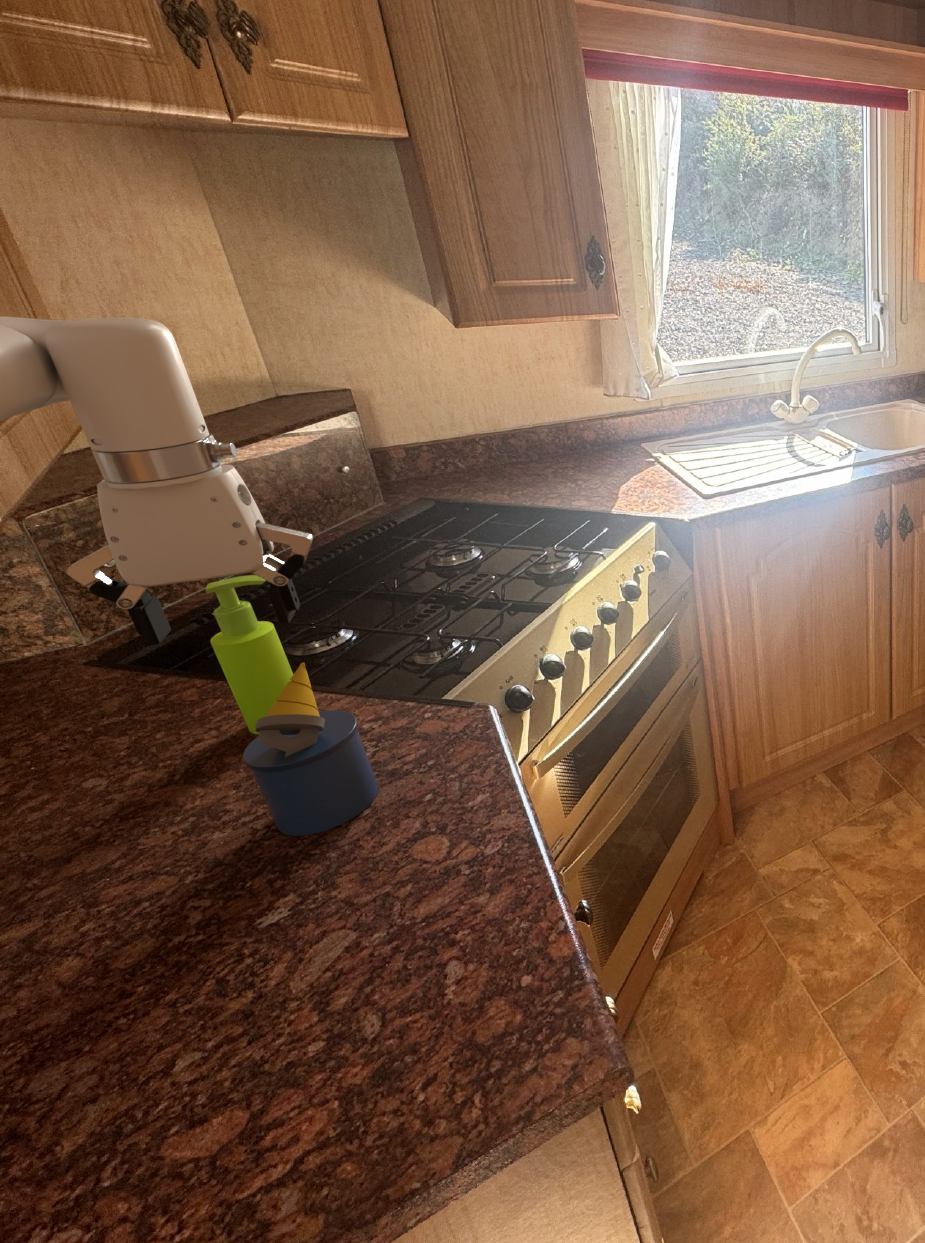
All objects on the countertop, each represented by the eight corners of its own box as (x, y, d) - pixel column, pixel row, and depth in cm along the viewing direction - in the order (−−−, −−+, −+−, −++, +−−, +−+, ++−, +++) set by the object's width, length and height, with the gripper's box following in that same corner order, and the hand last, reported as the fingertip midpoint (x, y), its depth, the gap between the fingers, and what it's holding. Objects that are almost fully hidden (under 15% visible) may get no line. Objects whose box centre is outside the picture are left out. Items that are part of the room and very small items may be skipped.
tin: (263, 850, 76) (230, 778, 72) (285, 793, 83) (256, 725, 80) (374, 817, 80) (348, 748, 76) (385, 766, 87) (362, 701, 84)
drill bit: (246, 763, 75) (266, 667, 79) (314, 761, 78) (330, 670, 82) (252, 752, 71) (272, 653, 75) (322, 751, 75) (339, 656, 79)
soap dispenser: (316, 721, 95) (261, 583, 87) (245, 740, 92) (182, 598, 84) (319, 699, 100) (267, 565, 92) (252, 716, 96) (193, 579, 88)
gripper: (292, 441, 73) (341, 595, 80) (45, 461, 65) (123, 629, 72) (272, 461, 67) (328, 625, 74) (-2, 485, 59) (87, 667, 66)
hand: (226, 627), depth 73 cm, fingers open, 9 cm apart
